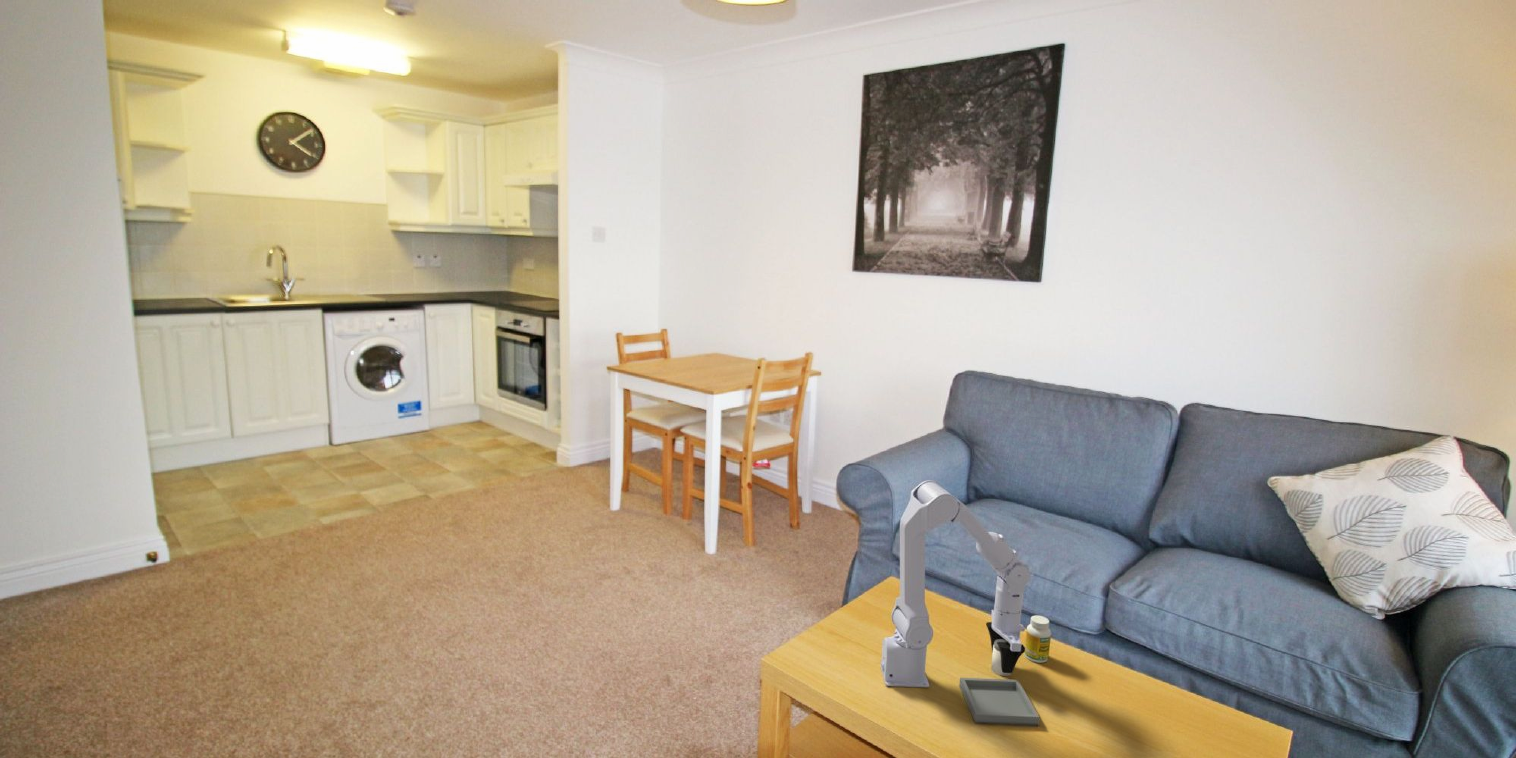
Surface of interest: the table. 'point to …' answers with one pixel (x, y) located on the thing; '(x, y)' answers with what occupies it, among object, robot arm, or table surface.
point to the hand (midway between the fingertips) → (1002, 663)
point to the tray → (998, 702)
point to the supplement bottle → (1038, 639)
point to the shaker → (997, 659)
